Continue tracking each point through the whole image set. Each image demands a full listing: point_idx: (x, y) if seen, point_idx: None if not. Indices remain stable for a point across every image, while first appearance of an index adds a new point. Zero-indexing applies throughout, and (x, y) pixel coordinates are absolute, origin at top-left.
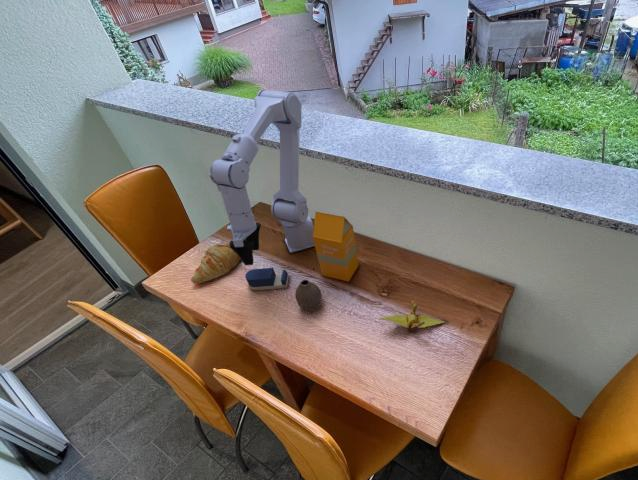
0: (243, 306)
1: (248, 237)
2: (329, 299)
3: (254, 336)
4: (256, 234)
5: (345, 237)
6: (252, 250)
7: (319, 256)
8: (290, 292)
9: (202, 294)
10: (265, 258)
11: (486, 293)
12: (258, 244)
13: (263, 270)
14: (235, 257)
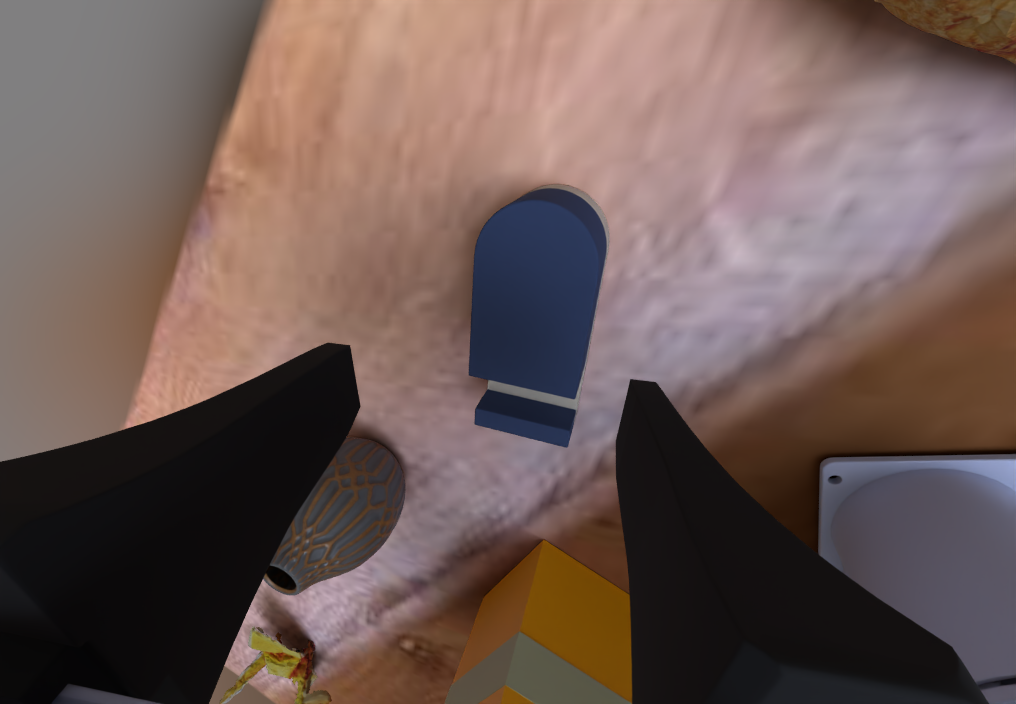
0: (381, 154)
1: (661, 528)
2: (399, 520)
3: (208, 230)
4: (636, 652)
5: None
6: (268, 559)
7: (503, 669)
8: (457, 402)
9: None
10: (862, 291)
11: None
12: (623, 505)
13: (559, 339)
14: (952, 27)
